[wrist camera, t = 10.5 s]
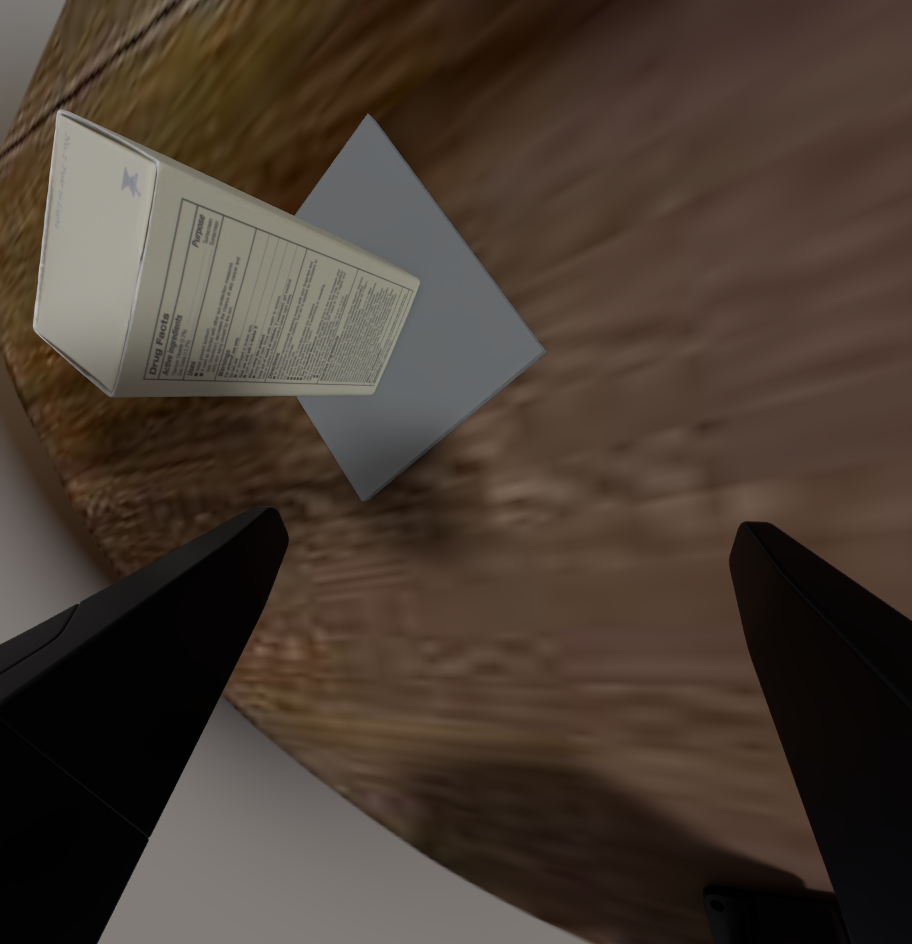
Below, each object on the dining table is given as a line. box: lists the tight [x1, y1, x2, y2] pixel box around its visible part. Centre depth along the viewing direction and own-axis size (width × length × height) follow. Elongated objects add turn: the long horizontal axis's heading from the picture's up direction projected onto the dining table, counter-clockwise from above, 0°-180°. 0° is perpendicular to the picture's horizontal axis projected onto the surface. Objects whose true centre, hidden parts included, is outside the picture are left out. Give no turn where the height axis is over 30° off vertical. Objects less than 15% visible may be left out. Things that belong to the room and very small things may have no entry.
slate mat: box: [295, 114, 546, 502], centre depth 23 cm, size 14×12×1 cm
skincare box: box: [33, 110, 420, 397], centre depth 17 cm, size 6×4×12 cm
